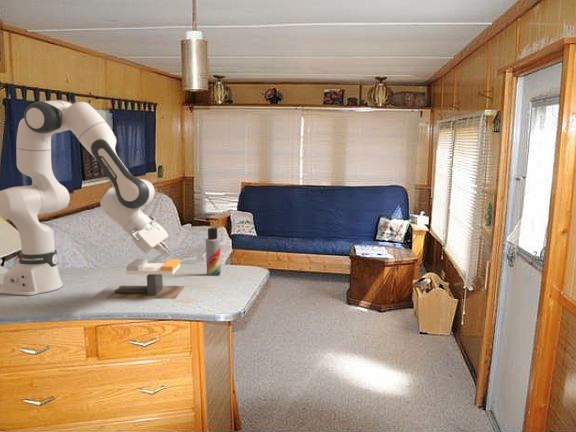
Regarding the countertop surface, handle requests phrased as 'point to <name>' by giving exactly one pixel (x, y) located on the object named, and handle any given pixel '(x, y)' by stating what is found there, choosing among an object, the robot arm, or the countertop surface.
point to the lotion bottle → (213, 253)
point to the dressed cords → (132, 290)
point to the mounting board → (165, 293)
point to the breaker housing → (154, 284)
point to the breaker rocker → (153, 267)
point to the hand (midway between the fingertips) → (168, 253)
